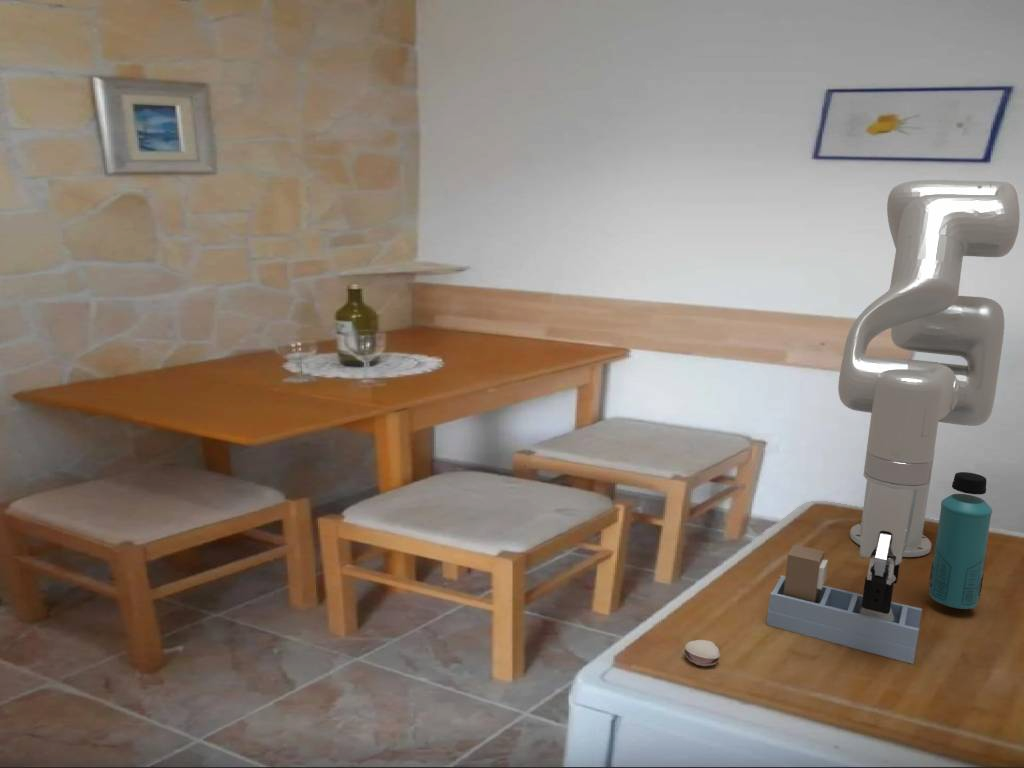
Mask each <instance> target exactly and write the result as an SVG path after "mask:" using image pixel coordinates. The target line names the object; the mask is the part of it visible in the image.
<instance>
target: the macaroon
mask: <svg viewBox="0 0 1024 768" xmlns="http://www.w3.org/2000/svg"><path fill="white" fill-rule="evenodd" d="M683 652H684V655H685V657H686V659H688V660H689V661H690V662H691V663H692V664H695V665H697V666H702V667H708V666H709V667H710V666H713V665H717V664H718V661H719V660H720V657H721V654H720V651H719V647H718V646H717V645H715V642H713V641H712V640H705V639H696V640H691V641H688V642H687V643H686V644H685V646H684V651H683Z"/></svg>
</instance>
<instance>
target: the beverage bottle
mask: <svg viewBox="0 0 1024 768" xmlns="http://www.w3.org/2000/svg"><path fill="white" fill-rule="evenodd" d="M951 487H952V489H953V490H954V491H957V492H960V493H953V494H950V495H949V496H947V497H945V498H944V499H942V500H941V504H940V505H941V506H940V513H939V518H938V519H939V520H938V525H937V526H938V527H937V532H936V537H935V544H934V549H933V559H932V562H931V563H932V564H931V569H930V576H929V581H928V585H929V588H928V589H927V590H928V592H929V596H930V598H931V599H932V600H934V601H935V602H937V603H939V604H941V605H943V606H946V607H950V608H955V609H961V610H969V609H973V608H975V607H977V605H978V603H979V601H980V600H981V593H982V588H983V579H984V570H985V562H986V558H987V549H988V539H989V530H990V525H991V517H992V514H993V510H992V509H993V508H992V507H991V506H990V505H989V504H988V502H986V501H985V500H984V499H982V498H981V497H978V496H979V495H984V494H986V492H987V478H986V477H985V476H983V475H981V474H977V473H973V472H968V471H967V472H966V471H961V472H959V471H958V472H955V474H954V476H953V481H952V484H951ZM975 495H978V496H975Z"/></svg>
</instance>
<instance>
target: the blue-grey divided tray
mask: <svg viewBox="0 0 1024 768" xmlns="http://www.w3.org/2000/svg"><path fill="white" fill-rule="evenodd" d="M825 552H826V551H824V550H821V549H816V548H812V547H807V546H803V545H799V544H798V545H797V544H793V545H792V547H791V549H790V551H789V552H788V553H787V561H786V569H785V575H779V579H778V581H777V583H776V585H775V587H774V589H773V590H772V591H771V592H770V593H769V602H768V609H767V620H766V626H770V627H773V628H776V629H777V628H778V629H781V630H785V631H788V632H791V633H796V634H799V635H803V636H807V637H811V638H815V639H819V640H822V641H825V642H829V643H833V644H836V645H837V644H838V645H841V646H844V647H847V648H848V647H849V648H852V649H855V650H858V651H862V652H866V653H870V654H875V655H877V656H882V657H885V658H889V659H893V660H897V661H899V662H904V663H908V664H912V665H914V664H915V657H916V651H917V643H918V639H919V632H920V625H921V619H922V612H923V608H921V607H916V606H911V605H908V604H904V603H903V604H902V603H899V602H894V601H891V609H892V613H893V615H894V617H895V621H894V622H890V621H886V620H882V619H878V618H874V617H870V616H866V615H862V614H859V612H860V610H861V608H862V599H863V593H862V594H861V593H858V592H854V591H849V590H844V589H841V588H836V587H831V586H828V585H824V584H825V583H826V578H827V577H826V576H827V570H828V569H827V568H828V559H825Z"/></svg>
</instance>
